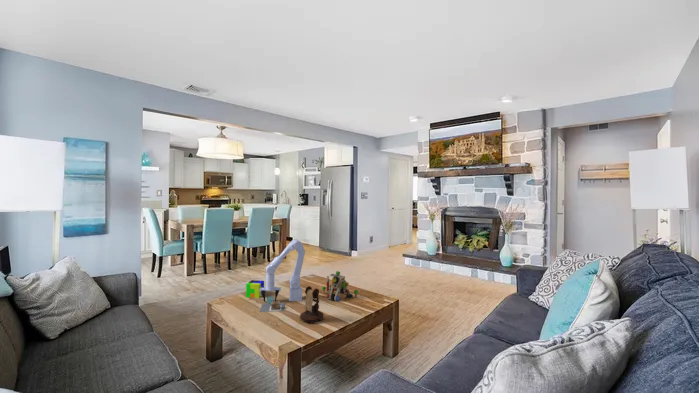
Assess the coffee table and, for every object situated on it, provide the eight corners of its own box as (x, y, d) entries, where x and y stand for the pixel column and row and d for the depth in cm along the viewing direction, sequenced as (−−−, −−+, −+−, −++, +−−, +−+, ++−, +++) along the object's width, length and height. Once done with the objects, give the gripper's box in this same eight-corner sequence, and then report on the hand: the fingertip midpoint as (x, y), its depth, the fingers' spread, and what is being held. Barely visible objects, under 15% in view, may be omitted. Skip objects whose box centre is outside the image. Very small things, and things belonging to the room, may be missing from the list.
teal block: (273, 301, 219) (273, 296, 219) (272, 304, 215) (273, 298, 215) (267, 302, 219) (267, 296, 219) (266, 304, 214) (266, 298, 214)
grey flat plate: (285, 303, 215) (285, 302, 215) (284, 311, 202) (284, 310, 202) (262, 304, 213) (262, 303, 213) (259, 312, 199) (259, 311, 199)
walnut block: (279, 306, 209) (279, 301, 208) (279, 309, 204) (279, 303, 203) (272, 307, 208) (272, 301, 208) (271, 310, 203) (271, 304, 203)
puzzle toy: (263, 293, 236) (264, 280, 236) (258, 298, 226) (259, 284, 226) (251, 292, 237) (251, 280, 237) (246, 297, 227) (246, 284, 227)
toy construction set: (314, 294, 237) (314, 268, 236) (336, 288, 252) (336, 263, 251) (336, 304, 217) (336, 275, 216) (358, 297, 232) (359, 270, 231)
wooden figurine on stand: (295, 319, 190) (295, 287, 190) (312, 312, 202) (312, 282, 201) (311, 326, 181) (311, 293, 180) (328, 318, 192) (328, 287, 192)
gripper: (281, 280, 222) (280, 298, 222) (260, 280, 219) (260, 299, 220) (280, 283, 215) (280, 302, 215) (259, 283, 212) (258, 302, 213)
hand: (270, 300), depth 217 cm, fingers open, 7 cm apart
